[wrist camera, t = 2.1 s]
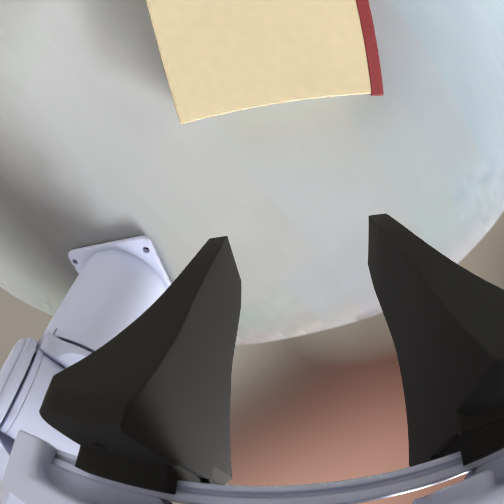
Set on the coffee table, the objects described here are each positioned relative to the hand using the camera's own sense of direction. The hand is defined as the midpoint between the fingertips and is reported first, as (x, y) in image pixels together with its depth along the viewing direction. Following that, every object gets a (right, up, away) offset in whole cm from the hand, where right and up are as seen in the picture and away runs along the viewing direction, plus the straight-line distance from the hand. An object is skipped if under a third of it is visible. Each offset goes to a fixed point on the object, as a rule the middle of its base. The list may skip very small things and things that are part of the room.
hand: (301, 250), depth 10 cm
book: (-2, +13, +1) cm, 13 cm away
